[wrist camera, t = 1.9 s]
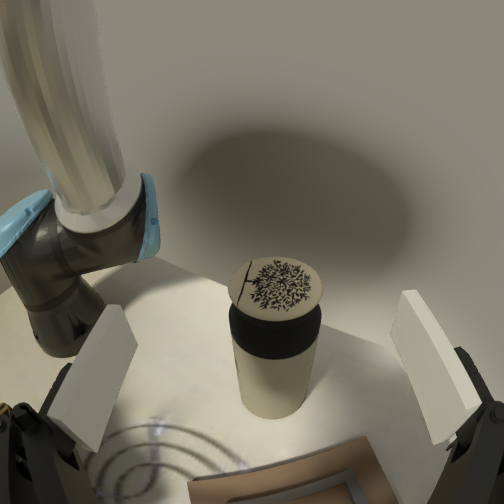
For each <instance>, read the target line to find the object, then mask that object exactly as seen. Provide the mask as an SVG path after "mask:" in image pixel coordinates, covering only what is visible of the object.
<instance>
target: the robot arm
mask: <svg viewBox="0 0 504 504" xmlns="http://www.w3.org/2000/svg"><path fill="white" fill-rule="evenodd" d="M95 2H96V1H95V0H0V66H1V70H2V73H3V76H4V79H5V82H6V85H7V88H8V90H9V93H10V96H11V98H12V101H13V104H14V106H15V109H16V111H17V113H18V116H19V118H20V121H21V123H22V125H23V127H24V130H25V132H26V134H27V137H28V139H29V141H30V143H31V145H32V147H33V149H34V151H35V153H36V155H37V157H38V159H39V161H40V163H41V165H42V167H43V169H44V171H45V173H46V175H47V176H48V178H49V180H50V182H51V184H52V185H53V187H54V189H55V191H56V192H57V194H56V198H53V194H52V193H51V191H50V190H49V189H45V190H40V191H37V192H35V193H33V194H31V195H30V196H28V197H26V198H24V199H23V200H22V201H20V202H18V203H17V204H15V205H14V206H13V207H12V208H10V209H9V210H8V211H7V212H5V213H4V214H3V215H2V216H1V217H0V262H1V264H2V266H3V268H4V270H5V272H6V274H7V275H8V278H9V280H10V281H11V283H12V285H13V287H14V289H15V291H16V292H17V294H18V296H19V297H20V299H21V301H22V302H23V304H24V306H25V308H26V309H27V312H28V316H29V320H30V323H31V327H32V330H33V334H34V337H35V339H36V341H37V343H38V344H39V345H40V347H41V348H42V349H43V351H44V352H45V353H47V354H48V355H50V356H53V357H58V358H65V357H70V356H74V355H76V354H78V355H77V357H76V358H75V360H74V362H73V363H68V364H67V365H66V366H64V367H63V368H62V369H61V371H60V372H59V374H58V376H57V378H56V381H55V382H54V383H53V385H52V388H51V389H50V391H49V393H48V395H47V397H46V399H45V401H44V403H43V405H42V407H41V409H40V411H39V413H37V412H36V411H35V410H34V409H33V408H32V407H31V406H30V405H29V404H28V403H24V402H23V403H19V404H17V405H15V406H14V408H13V409H12V410H11V413H10V416H9V417H8V416H6V415H4V414H0V504H100V503H99V501H98V499H97V497H96V495H95V493H94V491H93V488H92V486H91V484H90V482H89V479H88V477H87V475H86V472H85V470H84V467H83V465H82V462H81V460H80V457H79V454H78V452H77V450H76V448H75V444H76V443H77V444H78V445H79V446H80V447H82V448H83V449H85V450H88V451H91V452H95V453H98V450H99V447H100V444H101V441H102V438H103V435H104V432H105V429H106V426H107V423H108V421H109V418H110V415H111V412H112V409H113V407H114V404H115V401H116V399H117V396H118V393H119V391H120V388H121V386H122V383H123V381H124V378H125V375H126V373H127V370H128V368H129V365H130V363H131V361H132V358H133V356H134V353H135V351H136V349H137V346H138V344H137V342H136V340H135V337H134V335H133V333H132V331H131V328H130V326H129V324H128V321H127V319H126V317H125V314H124V312H123V309H122V307H121V305H114V304H108V305H107V306H105V304H104V302H103V300H102V298H101V297H100V295H99V294H98V293H97V292H95V291H94V289H93V288H92V287H91V286H90V285H89V284H88V283H87V282H86V281H85V280H84V279H83V278H82V276H81V275H82V274H86V273H90V272H94V271H98V270H102V269H106V268H110V267H114V266H118V265H123V264H127V263H131V262H133V263H137V262H139V261H140V260H143V259H146V258H149V257H152V256H154V255H156V253H158V251H159V249H160V227H159V220H158V207H157V200H156V192H155V186H154V181H153V178H152V176H151V175H149V174H143V173H141V174H140V173H139V171H138V169H137V167H136V166H135V165H134V164H133V163H132V162H131V161H129V160H127V159H125V158H123V157H122V153H121V149H120V146H119V141H118V137H117V133H116V129H115V125H114V120H113V116H112V111H111V106H110V102H109V97H108V91H107V86H106V80H105V75H104V69H103V62H102V56H101V49H100V41H99V33H98V24H97V14H96V3H95ZM390 335H391V338H392V340H393V342H394V344H395V346H396V349H397V351H398V353H399V356H400V358H401V360H402V363H403V365H404V367H405V370H406V372H407V375H408V377H409V380H410V382H411V385H412V387H413V390H414V392H415V395H416V397H417V400H418V403H419V405H420V408H421V411H422V414H423V416H424V419H425V422H426V425H427V428H428V431H429V434H430V437H431V440H432V443H433V445H436V444H438V443H441V442H444V441H446V440H449V439H450V438H451V437H452V435H453V434H455V433H456V436H457V438H456V439H455V440H454V441H453V442H452V443H451V444H450V445H449V446H448V448H447V449H446V451H448V450H449V449H451V448H452V450H451V452H450V455H449V457H448V460H447V462H446V465H445V467H444V470H443V472H442V474H441V476H440V479H439V481H438V483H437V485H436V487H435V489H434V491H433V493H432V495H431V497H430V499H429V501H428V503H427V504H504V403H502V402H500V401H494V399H493V398H492V396H491V394H490V392H489V390H488V388H487V386H486V384H485V382H484V380H483V379H482V377H481V375H480V373H478V369H477V368H476V366H475V365H474V362H473V361H472V359H471V357H470V355H469V354H468V353H467V352H466V351H465V350H464V349H462V348H461V347H457V348H453V347H452V345H451V344H450V342H449V340H448V339H447V337H446V335H445V334H444V332H443V330H442V329H441V327H440V325H439V324H438V322H437V321H436V319H435V317H434V316H433V315H432V313H431V311H430V310H429V308H428V307H427V305H426V304H425V302H424V301H423V299H422V298H421V296H420V295H419V293H418V292H417V290H407V291H402V294H401V298H400V301H399V305H398V309H397V312H396V316H395V320H394V323H393V326H392V329H391V332H390ZM16 454H17V455H18V456H19V457H20V459H19V461H17V460H16Z"/></svg>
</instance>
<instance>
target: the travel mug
mask: <svg viewBox="0 0 504 504" xmlns="http://www.w3.org/2000/svg"><path fill="white" fill-rule="evenodd" d="M228 292H229V296H230V299H231V300H232V302H233V303H232V304H231V307H230V310H229V322H230V329H231V336H232V343H233V349H234V356H235V362H236V369H237V375H238V381H239V387H240V393H241V399H242V401H243V403H244V405H245V407H246V408H247V409H248V410H249V411H250V412H251V413H253V414H255V415H256V416H259V417H262V418H266V419H280V418H284V417H287V416H289V415H291V414H292V413H294V412H295V411H296V410H297V409H298V408H299V407H300V406H301V405H302V403H303V401H304V398H305V394H306V390H307V385H308V381H309V377H310V372H311V368H312V363H313V358H314V354H315V349H316V344H317V339H318V334H319V328H320V323H321V309H320V306H319V304H318V302H319V301H320V299H321V297H322V293H323V284H322V281H321V279H320V277H319V275H318V274H317V272H316V271H315V270H314V269H313V268H311V267H310V266H308V265H307V264H305V263H303V262H300V261H298V260H295V259H291V258H285V257H265V258H260V259H256V260H253V261H251V262H248V263H246V264H244V265H243V266H241V267H240V268H239V269H237V270H236V271H235V273H234V274H233V275H232V277H231V279H230V281H229V285H228Z"/></svg>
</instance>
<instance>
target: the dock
mask: <svg viewBox="0 0 504 504" xmlns="http://www.w3.org/2000/svg"><path fill="white" fill-rule="evenodd" d="M187 485H188V491H189V496H190V501H191V504H398V502H397V499H396V497H395V495H394V493H393V491H392V489H391V487H390V485H389V483H388V481H387V479H386V476H385V474H384V472H383V470H382V468H381V466H380V464H379V462H378V460H377V458H376V456H375V454H374V452H373V450H372V448H371V446H370V444H369V442H368V440H367V438H366V436H363V437H361V438H359V439H356V440H354V441H351V442H349V443H347V444H344V445H341V446H339V447H336V448H334V449H331V450H328V451H325V452H323V453H320V454H317V455H314V456H311V457H308V458H304V459H301V460H298V461H294V462H291V463H287V464H284V465H280V466H276V467H272V468H268V469H264V470H260V471H255V472H250V473H245V474H240V475H235V476H229V477H223V478H216V479H208V480H200V481H190V482H187Z"/></svg>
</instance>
